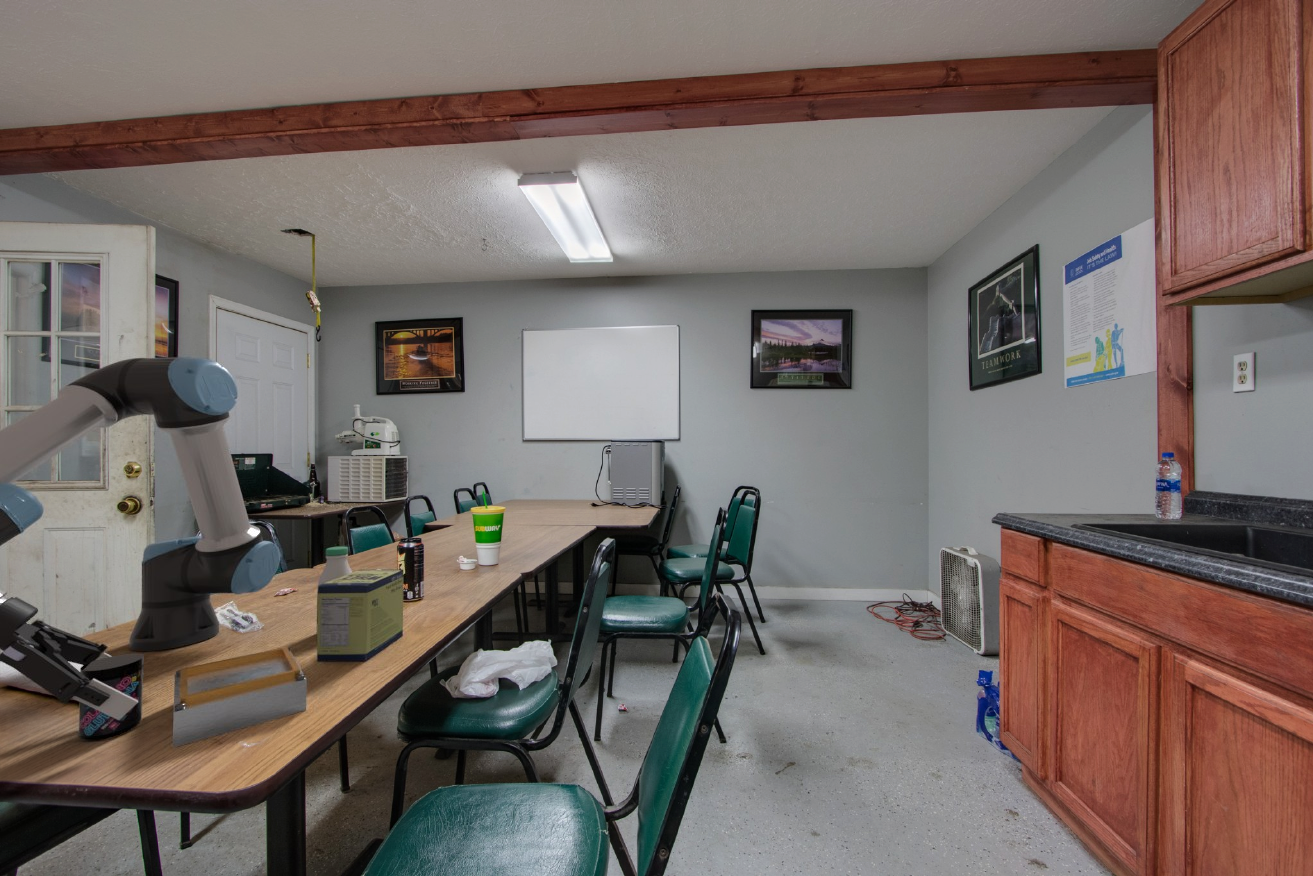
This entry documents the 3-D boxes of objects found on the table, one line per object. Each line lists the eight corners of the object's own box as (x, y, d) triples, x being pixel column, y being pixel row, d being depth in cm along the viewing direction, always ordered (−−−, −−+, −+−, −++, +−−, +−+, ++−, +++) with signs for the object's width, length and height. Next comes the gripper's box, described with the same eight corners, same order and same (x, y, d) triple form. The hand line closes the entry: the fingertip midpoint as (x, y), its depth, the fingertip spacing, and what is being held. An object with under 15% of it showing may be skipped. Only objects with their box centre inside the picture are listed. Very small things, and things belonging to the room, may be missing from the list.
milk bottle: (333, 626, 127) (334, 544, 128) (362, 627, 126) (363, 545, 127) (308, 637, 120) (309, 550, 120) (338, 638, 119) (339, 550, 119)
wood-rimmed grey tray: (174, 704, 87) (174, 667, 87) (289, 676, 98) (289, 643, 98) (172, 748, 74) (173, 703, 74) (306, 710, 85) (306, 671, 85)
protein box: (403, 635, 120) (404, 568, 121) (366, 662, 105) (367, 584, 105) (359, 636, 120) (360, 568, 121) (315, 662, 105) (316, 585, 105)
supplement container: (63, 745, 75) (65, 672, 75) (105, 721, 82) (107, 654, 82) (116, 741, 76) (118, 669, 76) (153, 718, 83) (155, 652, 83)
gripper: (-26, 621, 78) (114, 691, 88) (-90, 670, 60) (96, 752, 69) (30, 579, 82) (158, 651, 91) (-14, 614, 63) (152, 699, 73)
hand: (132, 695), depth 80 cm, fingers open, 13 cm apart
